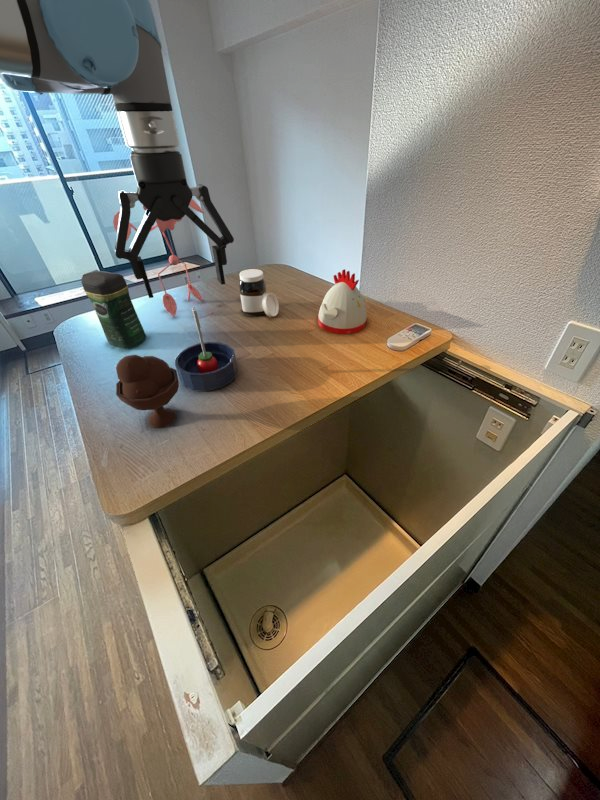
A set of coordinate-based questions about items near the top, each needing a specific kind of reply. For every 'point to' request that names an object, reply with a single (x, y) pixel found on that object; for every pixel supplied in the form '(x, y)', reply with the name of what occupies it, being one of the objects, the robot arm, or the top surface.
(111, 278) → the coffee jar
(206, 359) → the red candy apple
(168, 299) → the figurine
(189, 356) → the dessert bowl
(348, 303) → the kitchen timer
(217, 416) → the top surface
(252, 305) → the spread jar
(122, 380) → the ice cream bowl
